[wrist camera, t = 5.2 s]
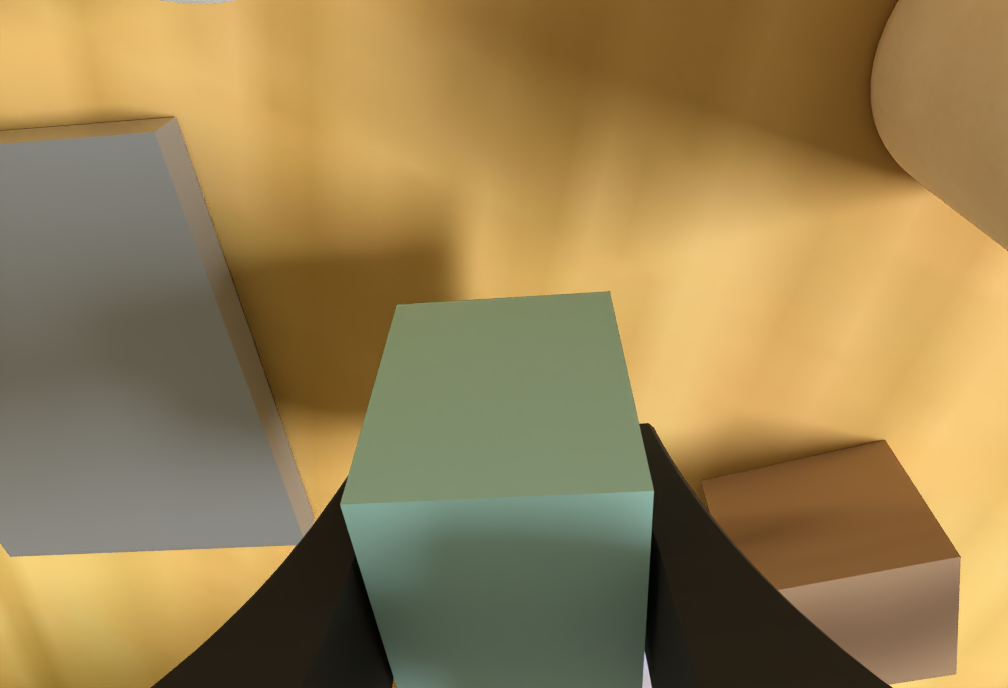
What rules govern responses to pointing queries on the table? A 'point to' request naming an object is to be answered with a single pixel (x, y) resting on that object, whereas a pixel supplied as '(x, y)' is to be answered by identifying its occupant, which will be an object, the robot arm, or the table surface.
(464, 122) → the table surface
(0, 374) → the slate board
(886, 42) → the candle
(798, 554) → the walnut block
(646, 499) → the teal brick
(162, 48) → the table surface
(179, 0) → the grey cylinder
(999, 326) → the table surface
